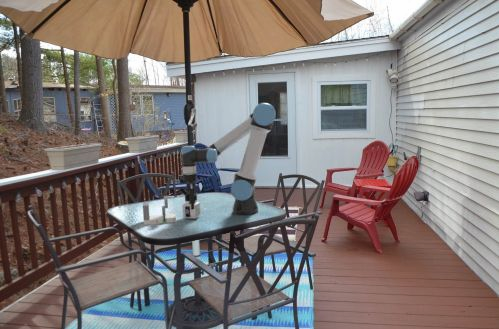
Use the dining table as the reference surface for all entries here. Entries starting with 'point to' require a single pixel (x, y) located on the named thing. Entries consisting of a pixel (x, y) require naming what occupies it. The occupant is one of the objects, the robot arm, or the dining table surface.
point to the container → (187, 207)
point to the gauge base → (156, 216)
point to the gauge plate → (164, 206)
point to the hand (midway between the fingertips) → (191, 212)
